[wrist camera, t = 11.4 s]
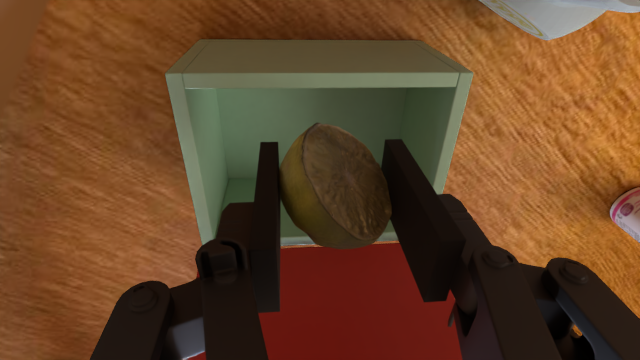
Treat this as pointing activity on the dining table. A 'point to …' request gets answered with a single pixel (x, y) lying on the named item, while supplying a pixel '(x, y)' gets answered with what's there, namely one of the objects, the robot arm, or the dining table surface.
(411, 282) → the lid
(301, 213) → the lime
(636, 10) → the air freshener
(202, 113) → the open storage box
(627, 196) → the pill bottle
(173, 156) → the dining table surface
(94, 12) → the dining table surface
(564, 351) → the robot arm
